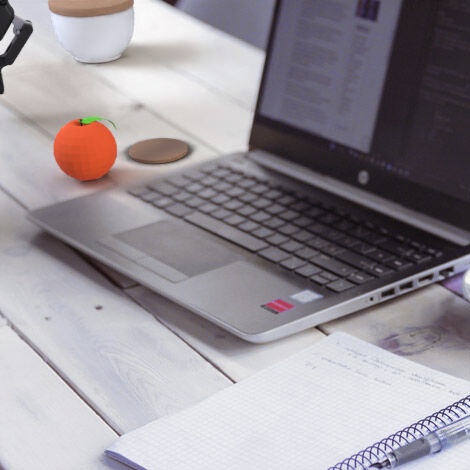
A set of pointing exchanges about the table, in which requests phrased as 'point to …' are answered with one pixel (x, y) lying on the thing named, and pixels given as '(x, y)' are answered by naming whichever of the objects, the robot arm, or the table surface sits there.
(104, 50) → the lidded bowl
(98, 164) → the clementine
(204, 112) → the table surface
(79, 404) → the table surface
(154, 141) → the cork coaster
